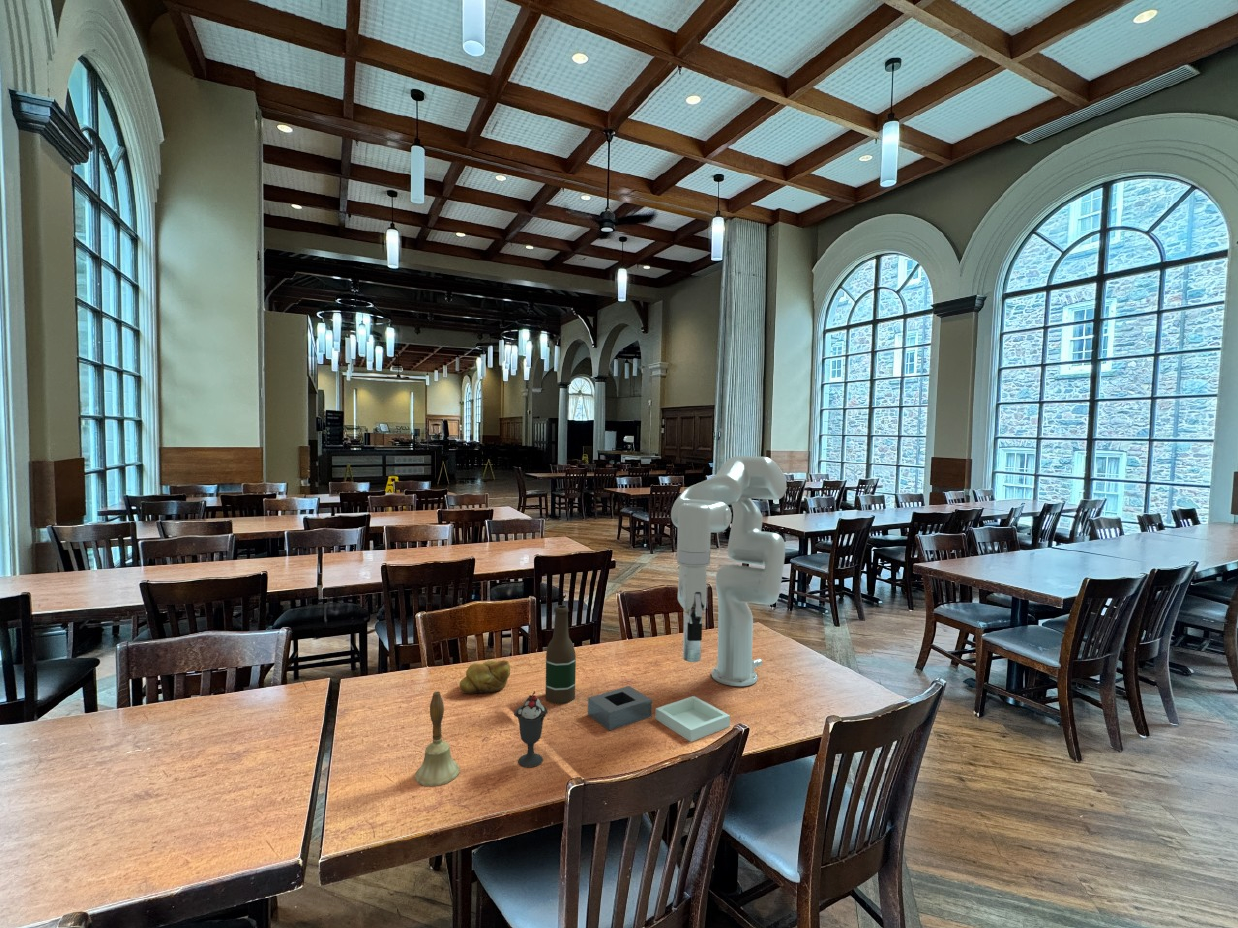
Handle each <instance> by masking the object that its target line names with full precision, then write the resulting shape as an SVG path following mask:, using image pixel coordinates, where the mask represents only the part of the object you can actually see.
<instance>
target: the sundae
mask: <svg viewBox="0 0 1238 928" xmlns="http://www.w3.org/2000/svg"><path fill="white" fill-rule="evenodd" d="M535 694H536V691H535V690H534V691H533V693H532V695H531V694H529V695H528V698H527V699H525V700H524V703H523V705H520V706H518V707H517V708H516V709H515V711H514V712H513V713H514V717H516V718H517V721H518V725H519V734H520V739H521V741H522V742H524V744H526V745H527V753H525V754H523V755H521V756H520V757H519V758H518V760H517V761H518V764H519V765H520V766H521V767H524V768H535V767H537V766H540V765H541V764H542V762H543V761H544V759H543V756H542V755H540V754H539V753H535V750H534V749H535V746H534V745H535V744H536V743H537V742H539V740H540V739H541V737H542V731H543V724H544V719H545V717H546V715H547V714H548V712H549V711H548V709H547V707H545V706H544V705H543V704H542V703H541V700H540V699H539V698H538V697H537V695H535Z"/></svg>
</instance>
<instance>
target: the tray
mask: <svg viewBox="0 0 1238 928" xmlns="http://www.w3.org/2000/svg"><path fill="white" fill-rule="evenodd" d="M655 720H656V721H658V722H659V723H661V724H662V725H663V726H665V727H667V728H668V729H670V730H671V731H673V732H674V733H676V734H678V735H679V736H681V737H683V738H684V739H685V740H686V741H689V742H692V743H693V742H694V741H697V740H699V739H702V738H704V737H707V736H710V735H712V734H715V733H717V732H720V731H722V730H725V729H727V728H729V727H731V715H730V714H728V713H726V712H724V711H723V710H721V709H719V708H717V707H715V706H714V705H712V704H710V703H708V702H707V701H704V700H702V699H700V698H699V697H697V696H695V695H693V696H689V697H686V698H684V699H681V700H676V701H674V702H671V703H668V704H665V705H662V706H659V707H656V708H655Z"/></svg>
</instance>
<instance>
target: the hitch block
mask: <svg viewBox="0 0 1238 928" xmlns="http://www.w3.org/2000/svg"><path fill="white" fill-rule="evenodd" d="M652 705H653V700H652V699H651V698H650V697H649V696H647V695H645V694H644V693H642V692H640V691H639V690H636V689H635V688H633V687H632V686H630V685H628V686H625V687H621V688H617V689H614V690H610V691H607V692H604V693H600V694H597V695H593V696H590V697H587V716H589V717H590V718H591V719H593V720H594V721H595V722H596V723H598V724H600V725H601V726H602V727H603V728H605V729H606V730H607V731H608V732H609V731H614V730H615V729H620V728H622V727H625V726H628V725H631V724H635V723H637V722H640V721H643V720H646V719H648V718H652V717H653V716H652V712H653V711H652V709H653V707H652Z"/></svg>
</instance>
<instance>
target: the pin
mask: <svg viewBox="0 0 1238 928" xmlns="http://www.w3.org/2000/svg"><path fill="white" fill-rule="evenodd" d="M691 609H695V607H692V608H691ZM693 614H695V612H692V615H693ZM683 616H684V630H683V629H682V630H683V631H682V632H683V633H682V634H683V639H682V640H683V641H682V643H683V644H682V645H683V647H682V648H683V649H682V659H683V660H684V661H685V662H688V663H698V662H700V661H701V660H702V659H701V657H702V656H701V654H702V653H701V651H702V649H701V648H702V647H701V646H702V640H701V641H688V639H687V627H688V623H689V609H688V611H685V610H684V609H683Z"/></svg>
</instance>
